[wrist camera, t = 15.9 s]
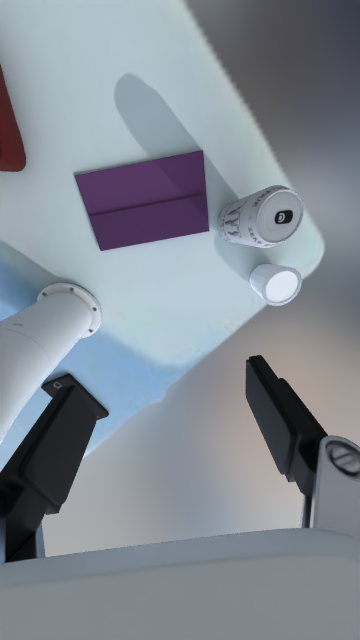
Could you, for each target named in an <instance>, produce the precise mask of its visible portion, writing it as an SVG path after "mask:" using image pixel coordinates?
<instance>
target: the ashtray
mask: <svg viewBox="0 0 360 640" xmlns="http://www.w3.org/2000/svg"><path fill="white" fill-rule="evenodd" d="M25 165H26V155H25V151H24V146H23V142H22V138H21V135H20V131H19V128H18V125H17V122H16V119H15V116H14V112H13V109H12V105H11V102H10V98H9V95H8V92H7V88H6V85H5V81H4V76H3V72H2V68H1V65H0V171H9V172H18V171H21V170H23V168H24V167H25Z"/></svg>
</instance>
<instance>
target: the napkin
mask: <svg viewBox="0 0 360 640" xmlns="http://www.w3.org/2000/svg"><path fill="white" fill-rule="evenodd" d="M75 178H76V181H77V184H78V187H79V190H80V193H81V196H82V198H83V201H84V204H85V207H86V210H87V213H88V216H89V218H90V221H91V224H92V227H93V230H94V233H95V236H96V239H97V241H98V244H99V247H100V250H101V251H103V250H109V249H114V248H120V247H125V246H131V245H136V244H142V243H147V242H153V241H158V240H163V239H169V238H174V237H180V236H185V235H191V234H196V233H202V232H207V231H209V224H208V211H207V198H206V185H205V172H204V159H203V150H202V151H197V152H192V153H187V154H182V155H177V156H172V157H167V158H162V159H157V160H152V161H147V162H142V163H137V164H132V165H127V166H122V167H117V168H111V169H106V170H101V171H96V172H91V173H86V174H81V175H76V176H75Z"/></svg>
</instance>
